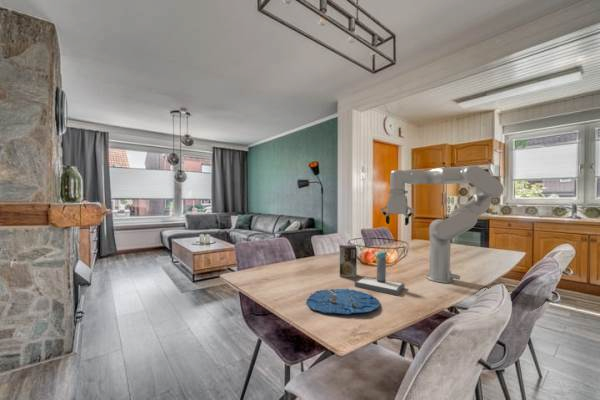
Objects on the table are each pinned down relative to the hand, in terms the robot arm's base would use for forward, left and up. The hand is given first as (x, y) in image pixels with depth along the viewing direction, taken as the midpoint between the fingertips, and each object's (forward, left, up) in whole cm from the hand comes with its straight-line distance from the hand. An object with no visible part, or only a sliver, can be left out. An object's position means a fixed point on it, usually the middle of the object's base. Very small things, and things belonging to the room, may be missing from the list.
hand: (397, 224), depth 141 cm
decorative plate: (+9, +50, -29) cm, 58 cm away
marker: (+2, +21, -26) cm, 33 cm away
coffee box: (+22, +15, -28) cm, 39 cm away
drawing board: (+2, +23, -28) cm, 37 cm away
